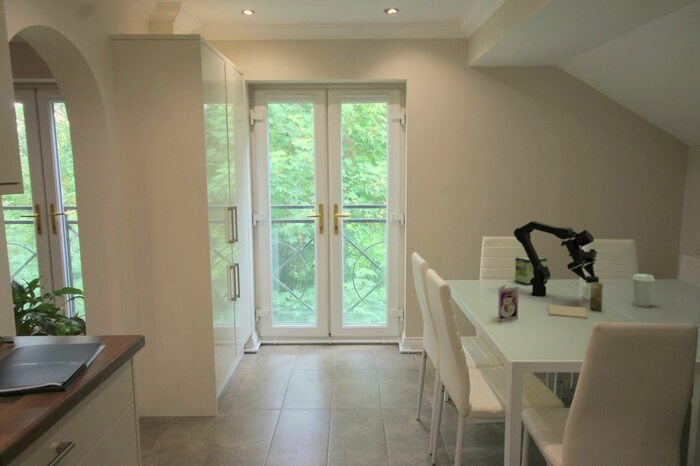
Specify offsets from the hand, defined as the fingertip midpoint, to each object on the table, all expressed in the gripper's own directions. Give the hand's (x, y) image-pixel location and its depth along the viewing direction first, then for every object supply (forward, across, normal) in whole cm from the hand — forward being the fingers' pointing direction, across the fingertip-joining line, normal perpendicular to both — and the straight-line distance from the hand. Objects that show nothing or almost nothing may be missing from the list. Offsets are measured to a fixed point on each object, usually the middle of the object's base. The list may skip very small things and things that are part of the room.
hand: (589, 278), depth 232 cm
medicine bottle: (+9, +12, +10) cm, 19 cm away
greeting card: (+4, -53, +19) cm, 57 cm away
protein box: (-12, +24, +46) cm, 53 cm away
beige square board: (+11, -22, +7) cm, 26 cm away
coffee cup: (+21, +18, -9) cm, 29 cm away
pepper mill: (+15, -8, +1) cm, 17 cm away
